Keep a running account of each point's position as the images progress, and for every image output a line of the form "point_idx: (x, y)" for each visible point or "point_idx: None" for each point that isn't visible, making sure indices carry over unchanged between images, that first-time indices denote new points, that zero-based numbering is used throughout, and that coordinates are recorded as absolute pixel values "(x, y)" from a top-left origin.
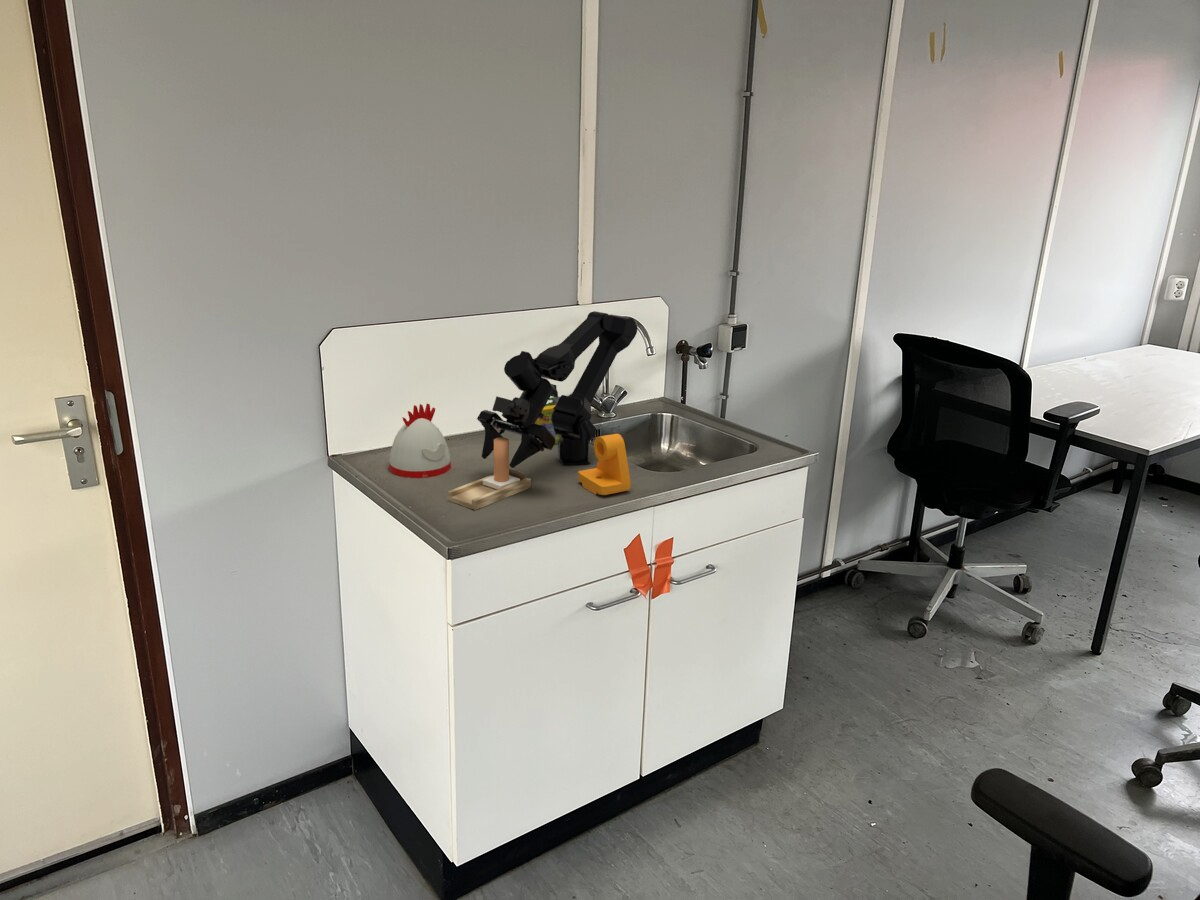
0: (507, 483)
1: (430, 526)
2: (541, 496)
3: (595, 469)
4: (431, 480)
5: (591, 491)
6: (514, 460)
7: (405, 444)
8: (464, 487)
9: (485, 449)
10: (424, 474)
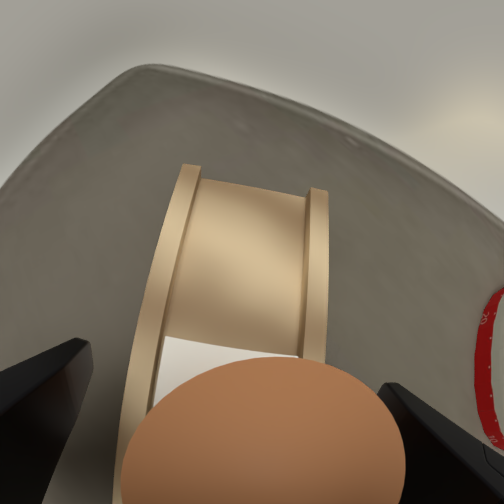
0: (158, 388)
1: (229, 86)
2: None
3: None
4: (461, 316)
5: None
6: (39, 355)
7: None
8: (309, 250)
9: (415, 414)
10: (488, 316)
